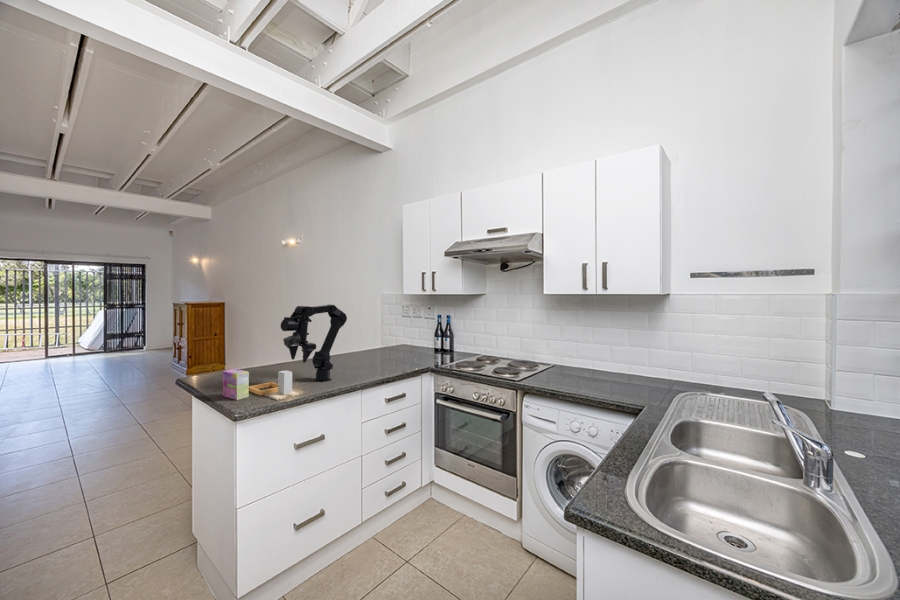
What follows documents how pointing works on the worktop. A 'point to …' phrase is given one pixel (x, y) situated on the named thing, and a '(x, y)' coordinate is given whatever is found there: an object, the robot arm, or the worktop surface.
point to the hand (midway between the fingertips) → (298, 361)
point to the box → (236, 384)
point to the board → (279, 396)
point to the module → (285, 382)
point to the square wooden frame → (261, 392)
